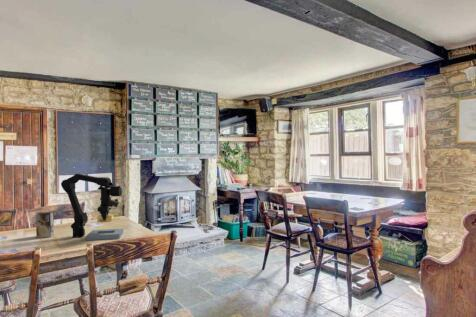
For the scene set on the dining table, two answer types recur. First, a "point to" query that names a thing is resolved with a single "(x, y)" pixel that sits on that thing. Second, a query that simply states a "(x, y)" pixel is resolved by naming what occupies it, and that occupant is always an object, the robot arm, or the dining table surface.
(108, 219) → the bar
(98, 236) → the keyed plate
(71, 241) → the dining table surface
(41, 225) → the coffee box
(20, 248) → the dining table surface
